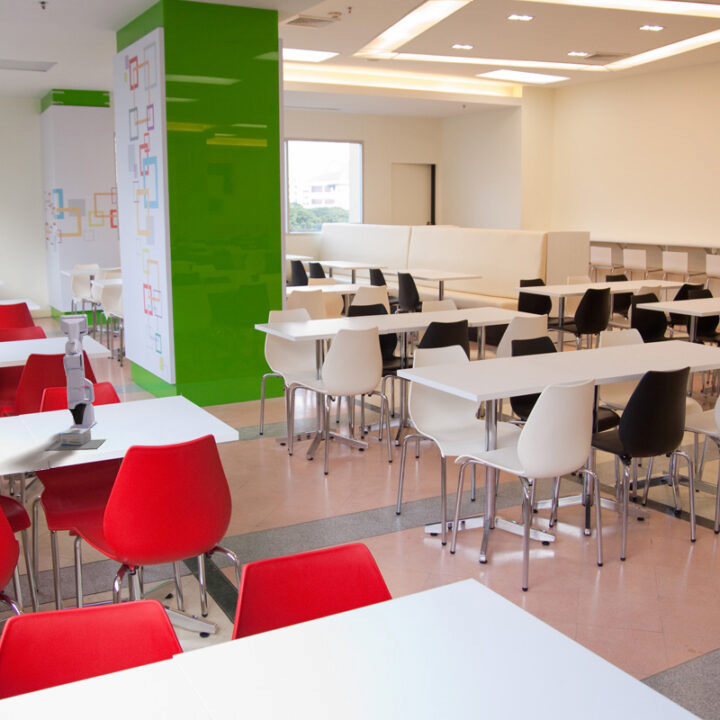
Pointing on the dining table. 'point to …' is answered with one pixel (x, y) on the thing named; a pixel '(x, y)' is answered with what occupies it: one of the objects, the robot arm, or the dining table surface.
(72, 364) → the robot arm
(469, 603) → the dining table surface
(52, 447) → the mat
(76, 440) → the medicine box
